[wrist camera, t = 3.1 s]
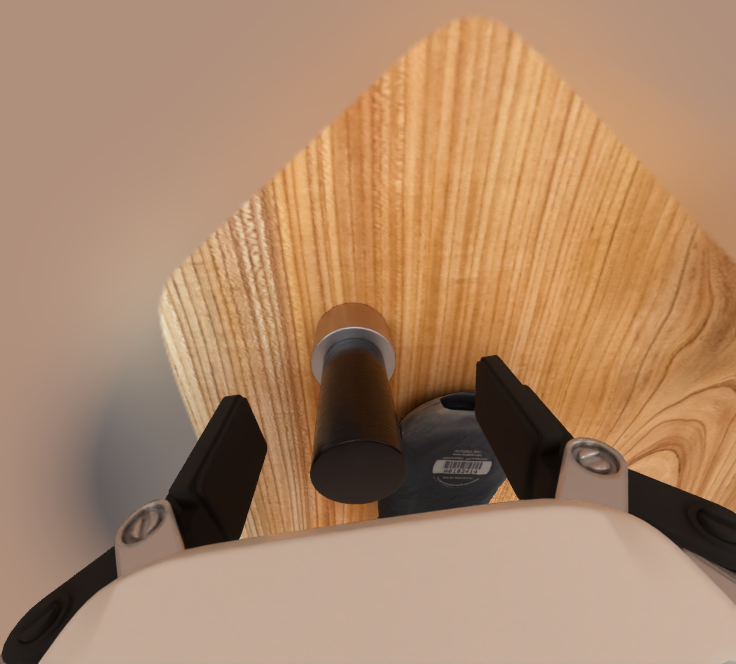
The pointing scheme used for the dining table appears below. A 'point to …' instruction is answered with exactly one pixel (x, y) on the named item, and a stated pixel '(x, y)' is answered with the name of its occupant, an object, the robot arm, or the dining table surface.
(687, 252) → the dining table surface
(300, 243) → the dining table surface
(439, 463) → the electronic device
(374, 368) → the torch
